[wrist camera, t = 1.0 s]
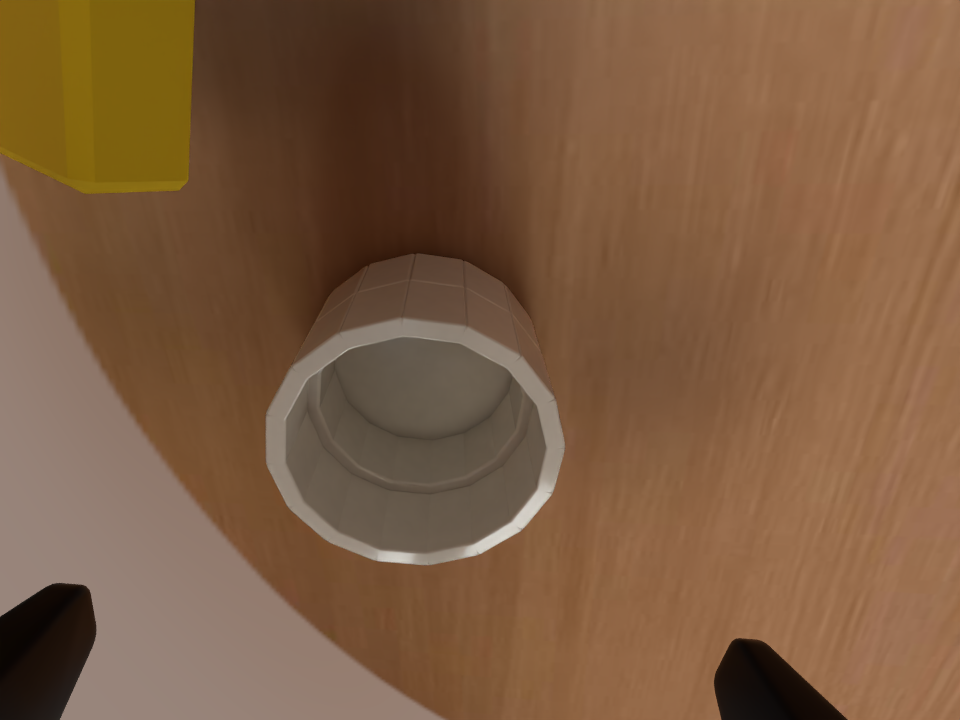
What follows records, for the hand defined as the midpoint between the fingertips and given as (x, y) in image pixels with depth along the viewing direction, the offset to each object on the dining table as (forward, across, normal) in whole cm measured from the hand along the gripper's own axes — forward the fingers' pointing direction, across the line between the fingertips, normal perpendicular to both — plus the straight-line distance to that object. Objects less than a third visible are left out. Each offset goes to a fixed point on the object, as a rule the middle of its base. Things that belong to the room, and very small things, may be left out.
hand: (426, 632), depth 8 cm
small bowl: (+9, 0, 0) cm, 9 cm away
